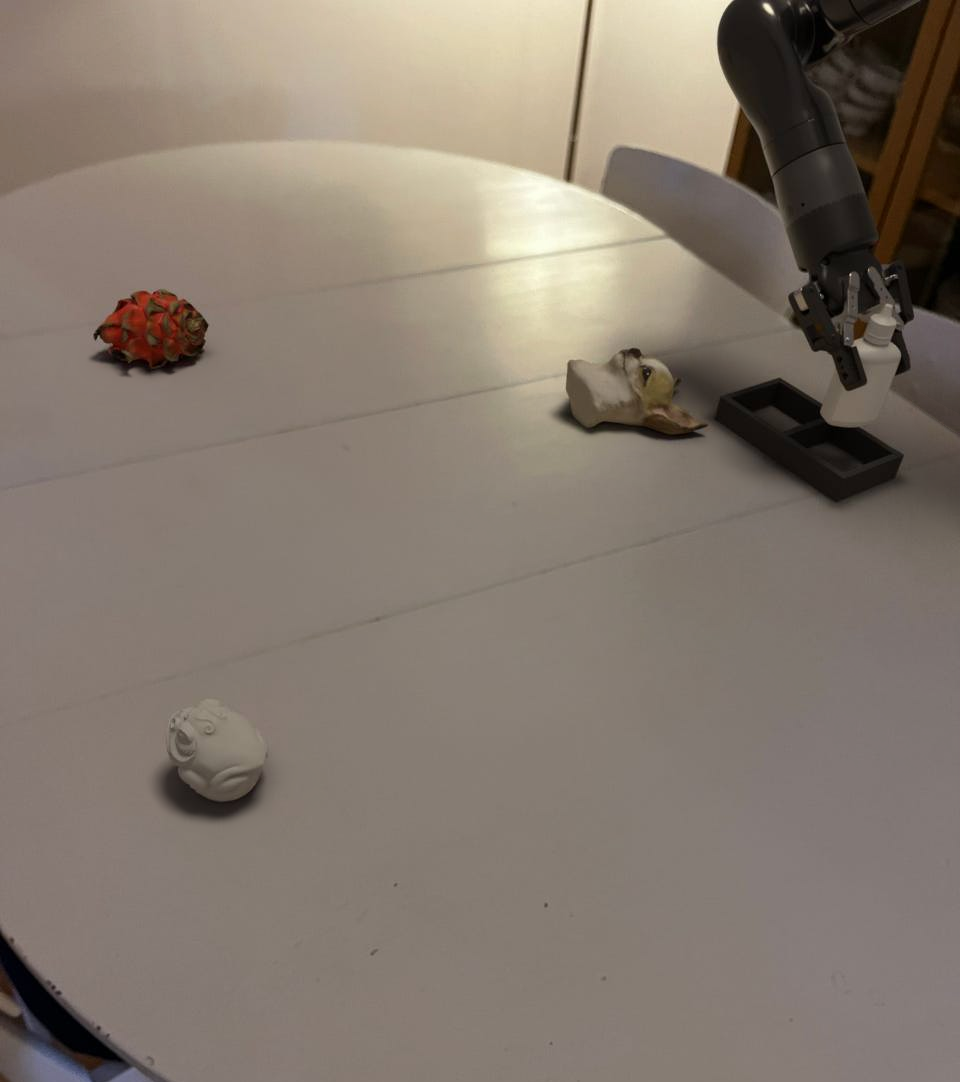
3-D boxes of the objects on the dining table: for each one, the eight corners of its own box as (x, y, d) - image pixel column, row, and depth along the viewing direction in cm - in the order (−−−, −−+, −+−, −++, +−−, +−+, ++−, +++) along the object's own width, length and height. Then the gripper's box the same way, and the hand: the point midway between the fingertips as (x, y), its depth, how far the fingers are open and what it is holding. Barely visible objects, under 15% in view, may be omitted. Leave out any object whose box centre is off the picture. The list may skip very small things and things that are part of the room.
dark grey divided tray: (771, 405, 119) (779, 377, 116) (892, 484, 109) (904, 454, 106) (712, 425, 115) (720, 395, 112) (832, 509, 104) (844, 478, 102)
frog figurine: (205, 740, 76) (195, 671, 72) (290, 773, 75) (285, 705, 70) (155, 799, 72) (140, 731, 67) (244, 836, 70) (235, 768, 66)
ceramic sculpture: (560, 321, 110) (693, 328, 113) (545, 394, 116) (672, 399, 119) (584, 372, 103) (726, 379, 106) (566, 448, 109) (702, 452, 112)
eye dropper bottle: (875, 436, 103) (920, 321, 95) (817, 423, 104) (857, 308, 96) (876, 415, 106) (920, 302, 98) (820, 402, 107) (859, 289, 99)
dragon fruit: (222, 376, 117) (113, 394, 116) (210, 306, 118) (101, 323, 117) (208, 341, 109) (90, 360, 107) (194, 266, 110) (78, 284, 109)
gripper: (800, 201, 93) (859, 385, 94) (905, 179, 99) (959, 352, 100) (742, 238, 99) (798, 409, 100) (844, 215, 106) (896, 376, 107)
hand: (879, 380), depth 100 cm, fingers closed on eye dropper bottle, 5 cm apart
